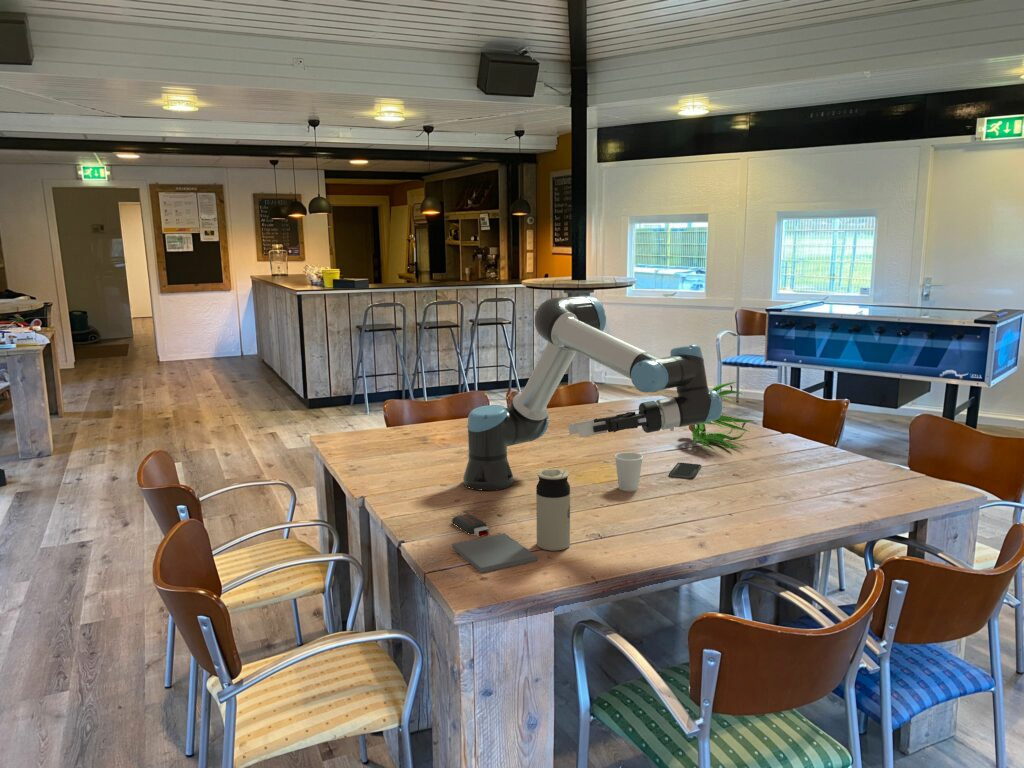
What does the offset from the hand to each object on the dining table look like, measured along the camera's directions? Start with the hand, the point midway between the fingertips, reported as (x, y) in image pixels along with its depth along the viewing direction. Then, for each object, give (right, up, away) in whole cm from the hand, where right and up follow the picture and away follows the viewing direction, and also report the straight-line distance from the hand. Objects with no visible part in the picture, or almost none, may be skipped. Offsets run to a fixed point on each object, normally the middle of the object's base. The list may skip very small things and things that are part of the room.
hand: (573, 430), depth 184 cm
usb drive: (-25, -26, +10) cm, 38 cm away
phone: (+40, -17, +57) cm, 72 cm away
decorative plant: (+57, -11, +90) cm, 107 cm away
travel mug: (-5, -28, -2) cm, 28 cm away
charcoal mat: (-19, -28, -7) cm, 35 cm away
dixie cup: (+20, -20, +41) cm, 49 cm away
